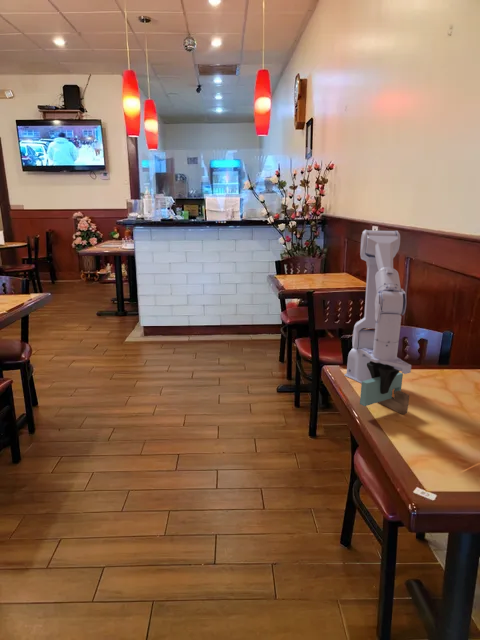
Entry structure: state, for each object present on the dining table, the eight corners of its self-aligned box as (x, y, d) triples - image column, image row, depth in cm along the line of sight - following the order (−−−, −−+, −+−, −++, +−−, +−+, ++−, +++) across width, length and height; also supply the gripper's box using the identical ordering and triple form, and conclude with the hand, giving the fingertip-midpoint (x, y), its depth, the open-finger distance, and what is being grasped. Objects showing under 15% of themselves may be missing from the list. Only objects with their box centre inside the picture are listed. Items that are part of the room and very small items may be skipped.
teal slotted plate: (359, 403, 113) (361, 381, 111) (395, 393, 119) (397, 371, 118) (364, 406, 111) (366, 383, 110) (400, 395, 118) (402, 373, 117)
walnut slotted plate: (369, 398, 123) (371, 381, 122) (373, 397, 124) (375, 380, 123) (402, 414, 114) (405, 396, 113) (407, 413, 115) (409, 394, 114)
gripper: (352, 334, 115) (348, 384, 119) (399, 350, 103) (392, 405, 107) (372, 330, 119) (367, 379, 122) (419, 345, 107) (412, 399, 110)
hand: (380, 391), depth 115 cm, fingers closed on teal slotted plate, 2 cm apart
